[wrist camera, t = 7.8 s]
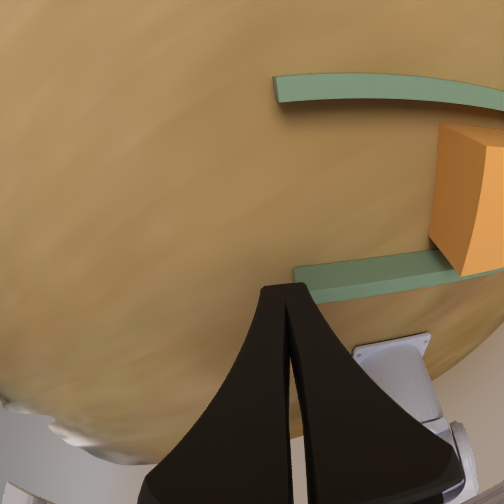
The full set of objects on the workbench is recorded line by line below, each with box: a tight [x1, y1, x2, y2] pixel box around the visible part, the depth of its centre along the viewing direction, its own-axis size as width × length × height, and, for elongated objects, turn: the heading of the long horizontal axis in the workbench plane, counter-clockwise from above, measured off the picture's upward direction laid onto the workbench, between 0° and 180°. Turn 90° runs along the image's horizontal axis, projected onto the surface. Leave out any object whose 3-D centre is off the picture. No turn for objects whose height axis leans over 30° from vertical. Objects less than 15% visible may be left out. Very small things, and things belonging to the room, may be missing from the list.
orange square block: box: [428, 124, 504, 277], centre depth 14 cm, size 8×8×5 cm
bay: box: [273, 73, 504, 304], centre depth 14 cm, size 14×24×6 cm, turn 98°
